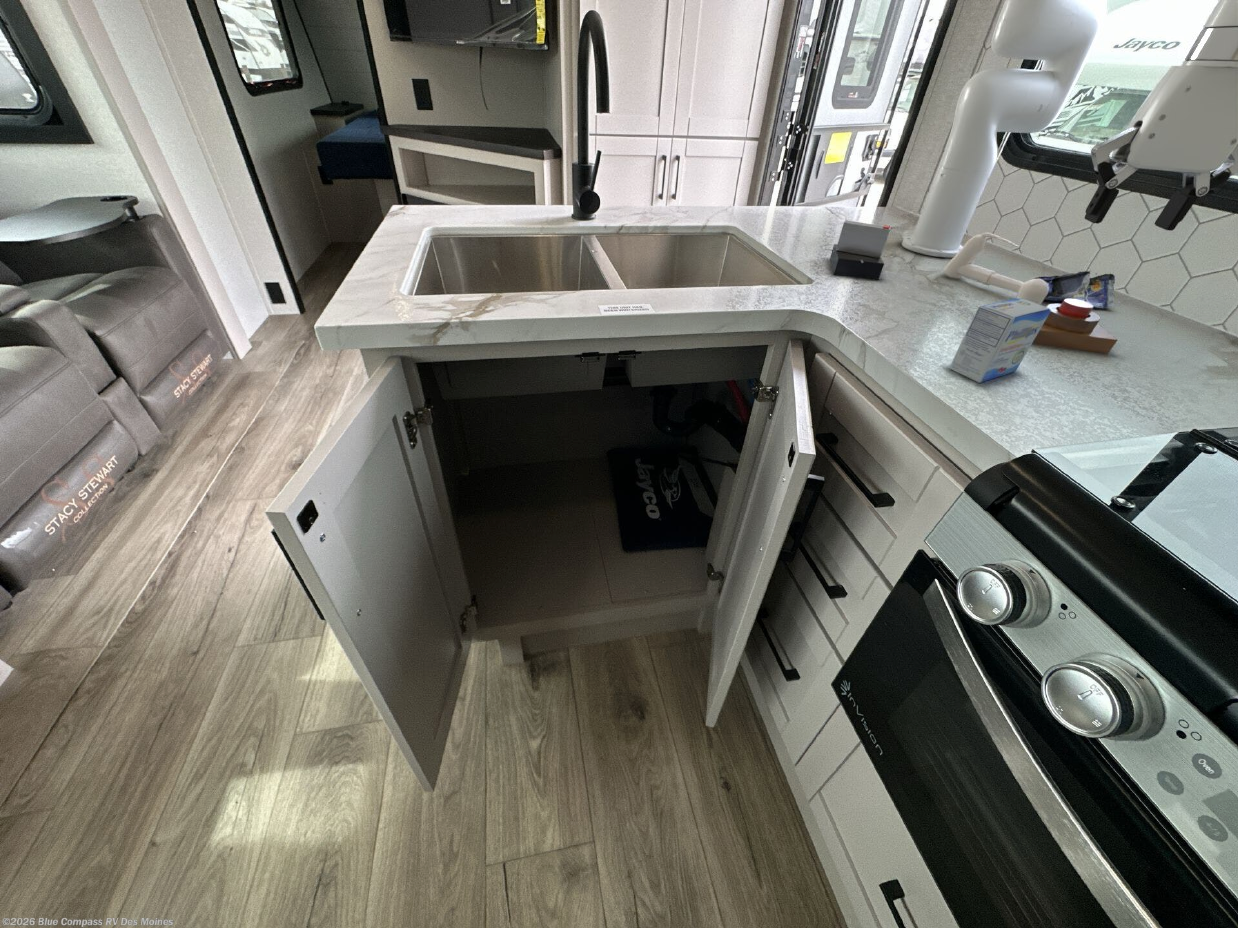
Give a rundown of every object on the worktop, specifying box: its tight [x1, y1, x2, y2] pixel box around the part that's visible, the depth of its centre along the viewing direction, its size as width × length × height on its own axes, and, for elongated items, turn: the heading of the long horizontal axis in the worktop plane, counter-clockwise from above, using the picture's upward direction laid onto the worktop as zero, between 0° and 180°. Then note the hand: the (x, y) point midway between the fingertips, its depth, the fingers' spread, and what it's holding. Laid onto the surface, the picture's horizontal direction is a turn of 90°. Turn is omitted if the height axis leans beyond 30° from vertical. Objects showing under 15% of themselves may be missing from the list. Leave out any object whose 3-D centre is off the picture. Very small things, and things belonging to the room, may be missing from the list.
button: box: [1058, 299, 1094, 318], centre depth 74 cm, size 4×4×2 cm
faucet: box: [943, 232, 1049, 305], centre depth 90 cm, size 4×18×10 cm, turn 25°
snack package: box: [1034, 270, 1116, 310], centre depth 89 cm, size 12×6×12 cm
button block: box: [1031, 303, 1118, 355], centre depth 75 cm, size 8×10×4 cm
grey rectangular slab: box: [836, 219, 892, 258], centre depth 95 cm, size 8×2×5 cm, turn 61°
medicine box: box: [948, 297, 1051, 384], centre depth 64 cm, size 8×4×9 cm, turn 117°
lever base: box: [824, 243, 893, 281], centre depth 98 cm, size 12×12×3 cm
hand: (1127, 223), depth 67 cm, fingers open, 7 cm apart
